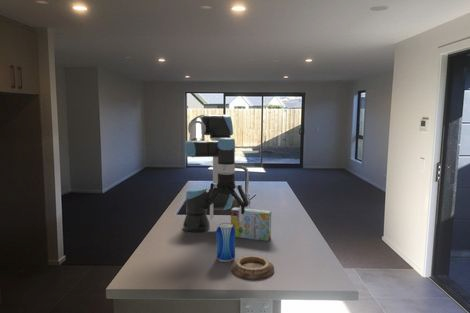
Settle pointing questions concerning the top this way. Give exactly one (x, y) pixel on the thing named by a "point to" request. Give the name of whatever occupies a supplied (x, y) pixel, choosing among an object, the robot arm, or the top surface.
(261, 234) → the snack box
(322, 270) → the top surface
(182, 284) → the top surface
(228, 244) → the beer can
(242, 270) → the round brown bowl
